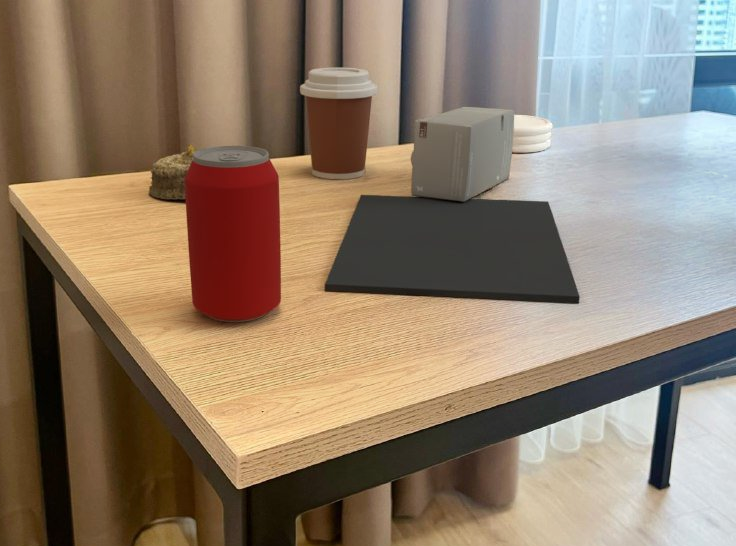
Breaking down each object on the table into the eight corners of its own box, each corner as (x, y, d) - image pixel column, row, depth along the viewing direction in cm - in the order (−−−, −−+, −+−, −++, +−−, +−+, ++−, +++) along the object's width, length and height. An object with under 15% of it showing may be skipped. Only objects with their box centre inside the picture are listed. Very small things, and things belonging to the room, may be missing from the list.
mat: (547, 206, 95) (548, 201, 95) (579, 303, 70) (579, 296, 70) (360, 199, 98) (360, 194, 98) (324, 290, 72) (324, 283, 72)
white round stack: (509, 135, 130) (511, 111, 129) (565, 147, 123) (568, 121, 122) (462, 144, 125) (463, 119, 123) (518, 157, 117) (520, 130, 116)
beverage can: (282, 293, 72) (279, 143, 67) (281, 326, 65) (277, 163, 61) (197, 294, 71) (188, 143, 67) (188, 328, 65) (177, 164, 60)
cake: (155, 211, 95) (147, 161, 93) (144, 189, 104) (136, 143, 102) (247, 196, 98) (241, 147, 96) (227, 176, 107) (222, 131, 104)
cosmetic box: (510, 177, 107) (471, 208, 94) (453, 171, 110) (407, 200, 96) (516, 105, 104) (477, 126, 91) (457, 101, 107) (411, 120, 93)
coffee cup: (356, 185, 104) (358, 78, 99) (287, 176, 107) (285, 73, 102) (387, 168, 111) (390, 69, 106) (321, 161, 115) (321, 64, 110)
